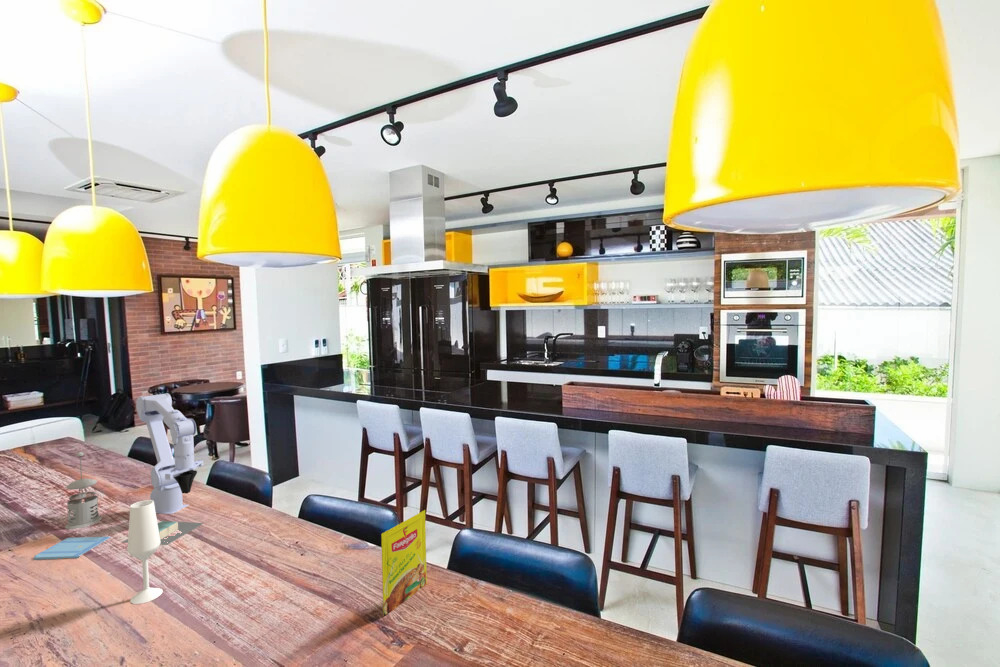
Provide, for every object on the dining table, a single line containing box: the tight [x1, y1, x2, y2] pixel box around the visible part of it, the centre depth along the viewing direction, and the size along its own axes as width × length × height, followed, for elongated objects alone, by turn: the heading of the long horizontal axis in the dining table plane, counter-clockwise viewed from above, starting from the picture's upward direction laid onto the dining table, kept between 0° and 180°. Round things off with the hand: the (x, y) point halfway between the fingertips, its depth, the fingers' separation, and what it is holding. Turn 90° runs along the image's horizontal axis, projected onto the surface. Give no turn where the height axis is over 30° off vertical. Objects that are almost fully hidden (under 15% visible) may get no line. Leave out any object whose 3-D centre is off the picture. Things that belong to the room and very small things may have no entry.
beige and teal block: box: [157, 520, 179, 540], centre depth 151 cm, size 6×3×7 cm
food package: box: [380, 509, 428, 618], centre depth 115 cm, size 15×1×20 cm, turn 148°
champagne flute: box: [127, 499, 164, 605], centre depth 118 cm, size 7×7×24 cm
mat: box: [122, 520, 205, 546], centre depth 153 cm, size 16×15×1 cm
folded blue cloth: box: [33, 536, 111, 561], centre depth 144 cm, size 14×12×1 cm
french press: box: [64, 451, 103, 530], centre depth 162 cm, size 10×12×25 cm
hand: (186, 492), depth 163 cm, fingers closed
